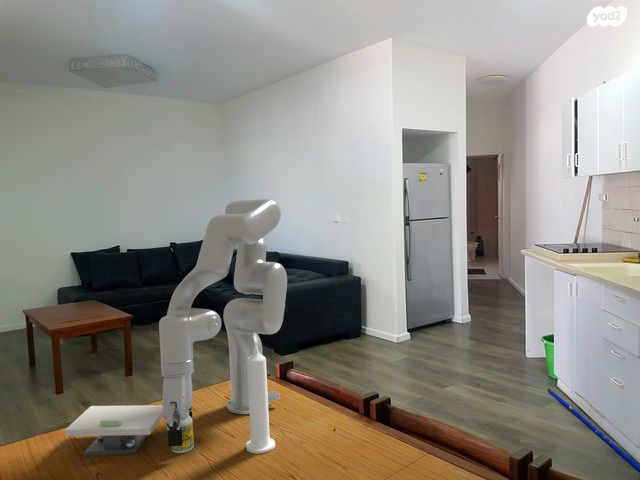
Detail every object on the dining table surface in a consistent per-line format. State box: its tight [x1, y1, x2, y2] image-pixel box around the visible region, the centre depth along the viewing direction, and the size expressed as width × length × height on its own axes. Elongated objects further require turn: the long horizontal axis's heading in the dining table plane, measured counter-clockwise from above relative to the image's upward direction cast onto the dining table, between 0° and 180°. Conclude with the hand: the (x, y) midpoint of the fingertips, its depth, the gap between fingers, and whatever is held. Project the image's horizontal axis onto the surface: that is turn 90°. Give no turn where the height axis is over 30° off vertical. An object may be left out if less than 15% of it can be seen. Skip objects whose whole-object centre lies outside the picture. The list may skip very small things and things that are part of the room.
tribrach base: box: [84, 435, 149, 457], centre depth 124 cm, size 12×13×4 cm
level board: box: [64, 404, 163, 437], centre depth 124 cm, size 20×14×3 cm
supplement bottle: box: [170, 410, 195, 454], centre depth 119 cm, size 5×5×10 cm
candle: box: [245, 345, 276, 455], centre depth 118 cm, size 7×7×25 cm
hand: (181, 436), depth 119 cm, fingers open, 9 cm apart
